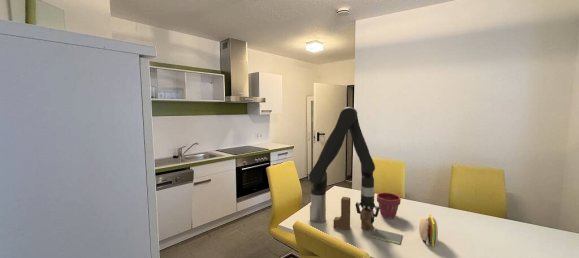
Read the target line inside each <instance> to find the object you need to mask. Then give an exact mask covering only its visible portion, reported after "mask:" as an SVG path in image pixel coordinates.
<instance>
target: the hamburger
mask: <svg viewBox="0 0 579 258" xmlns="http://www.w3.org/2000/svg"><path fill="white" fill-rule="evenodd" d="M418 224H419V225H418V232H419V235H420V238H421V239H422V240H423V241H425V244H426V246H429V242H430V244H431V247H435V244H436V243H437V241H438V239H439V238H438V236H439V230H438V222H437V219H436V218H435V217H433V216H432V213H429V214H428V218H427V217H426V216H423V217H422V218H421V219H420V221H419V223H418Z"/></svg>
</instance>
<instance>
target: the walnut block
mask: <svg viewBox="0 0 579 258" xmlns="http://www.w3.org/2000/svg"><path fill="white" fill-rule="evenodd" d="M360 211H361V220H360V221H361V223H360V229H362V230H366V231H369V232H371V230H372V228H373V226H374V225H373V224H374V222H373V223H371V211H369V210H365V209H364V210H363V209H360Z"/></svg>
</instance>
